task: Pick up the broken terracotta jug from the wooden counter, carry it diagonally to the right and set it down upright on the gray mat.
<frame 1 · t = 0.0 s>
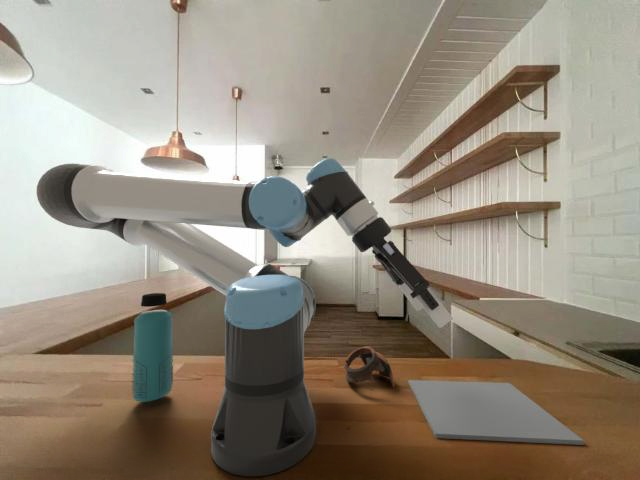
hand: (432, 314, 52), 15 cm above the countertop, tool tilted 35°, fingers open, 13 cm apart
gray mat: (478, 407, 47), on the countertop
broken terracotta jug: (369, 382, 57), on the countertop
beverage bottle: (152, 402, 50), on the countertop
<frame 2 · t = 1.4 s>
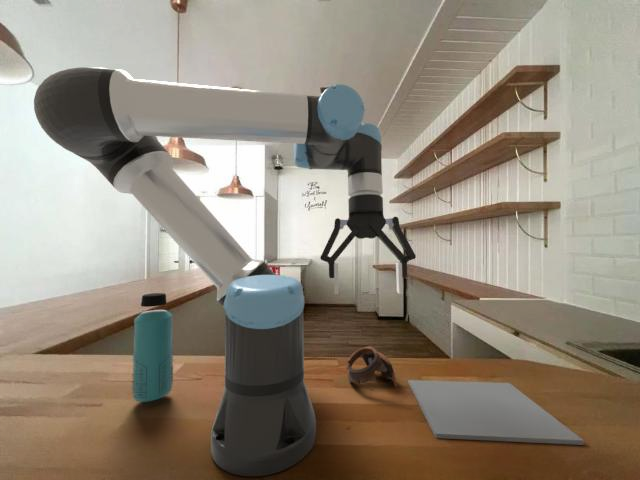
hand: (367, 293, 59), 18 cm above the countertop, tool pointing down, fingers open, 13 cm apart
nothing on the countertop moved.
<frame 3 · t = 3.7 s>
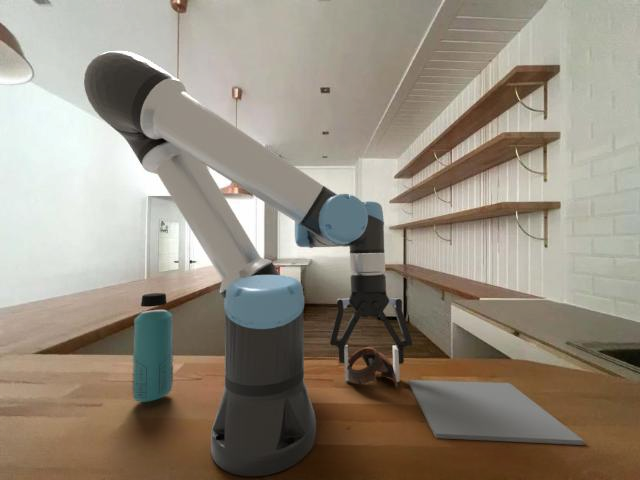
hand: (371, 378, 57), 0 cm above the countertop, tool pointing down, fingers closed on broken terracotta jug, 10 cm apart
broken terracotta jug: (372, 383, 57), on the countertop, touching gripper
everything else where it was.
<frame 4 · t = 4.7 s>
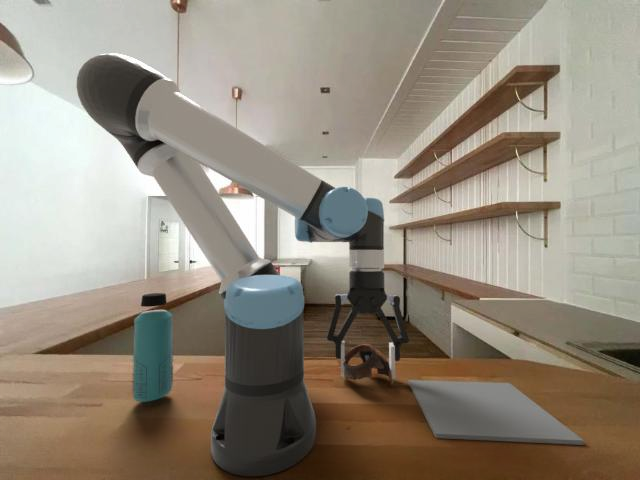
hand: (367, 374, 57), 1 cm above the countertop, tool pointing down, fingers closed on broken terracotta jug, 10 cm apart
broken terracotta jug: (368, 380, 57), on the countertop, touching gripper
everything else where it was.
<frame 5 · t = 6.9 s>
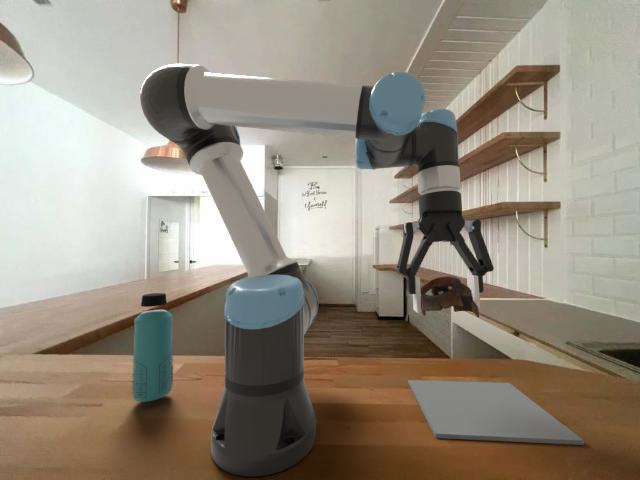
hand: (445, 311, 51), 16 cm above the countertop, tool pointing down, fingers closed on broken terracotta jug, 10 cm apart
broken terracotta jug: (447, 315, 50), point 15 cm above the countertop, touching gripper
everything else where it was.
when the fingers open (2 cm above the countertop, at t = 9.3 s): broken terracotta jug stays where it is, resting on gray mat.
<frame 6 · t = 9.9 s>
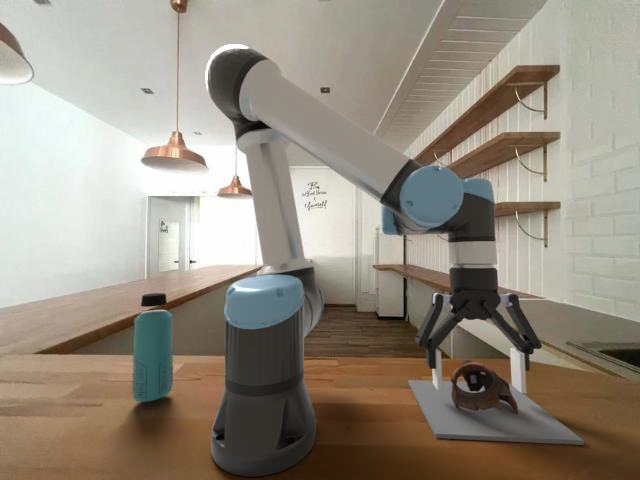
hand: (477, 388, 47), 3 cm above the countertop, tool pointing down, fingers open, 13 cm apart
broken terracotta jug: (481, 406, 46), resting on gray mat
everything else where it was.
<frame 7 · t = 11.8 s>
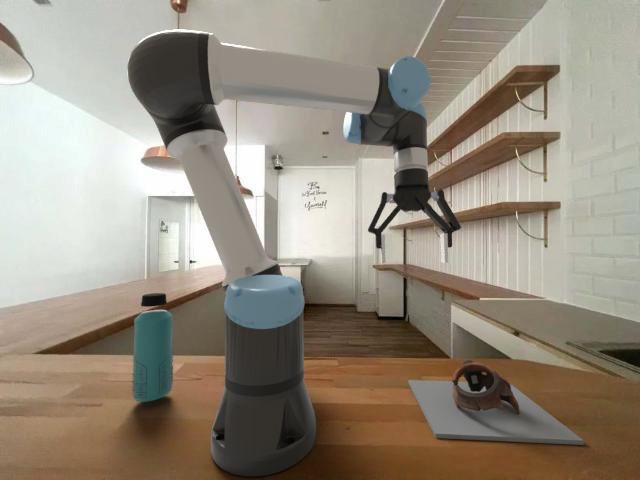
hand: (413, 262, 62), 25 cm above the countertop, tool pointing down, fingers open, 13 cm apart
nothing on the countertop moved.
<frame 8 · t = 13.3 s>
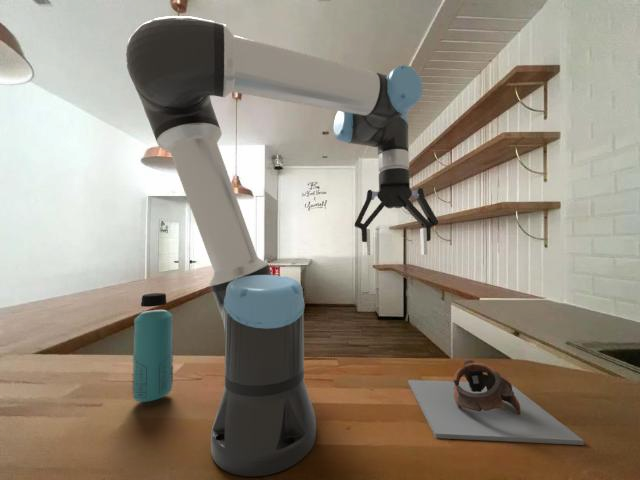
hand: (396, 255, 67), 27 cm above the countertop, tool pointing down, fingers open, 13 cm apart
nothing on the countertop moved.
at the end: broken terracotta jug inside the target area on the gray mat (0.8 cm from its centre), point 0.4 cm above the gray mat's base; broken terracotta jug tilted 1°; the gripper is holding nothing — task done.
